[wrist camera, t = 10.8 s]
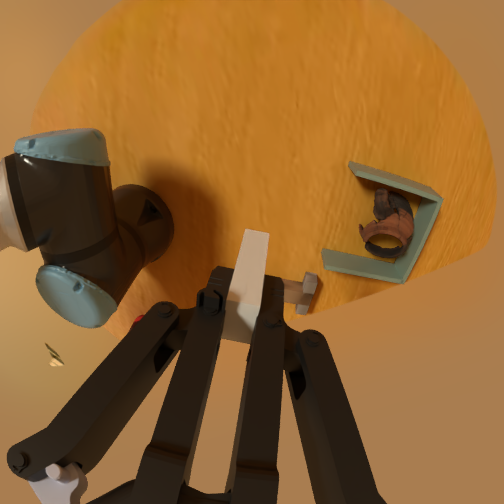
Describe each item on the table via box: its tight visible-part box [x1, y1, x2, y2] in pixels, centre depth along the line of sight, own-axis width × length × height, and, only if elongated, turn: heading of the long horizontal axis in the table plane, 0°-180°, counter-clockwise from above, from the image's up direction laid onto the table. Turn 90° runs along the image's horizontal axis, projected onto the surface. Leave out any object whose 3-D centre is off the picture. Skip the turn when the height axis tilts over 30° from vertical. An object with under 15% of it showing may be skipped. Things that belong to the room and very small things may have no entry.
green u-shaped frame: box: [321, 161, 443, 284], centre depth 42 cm, size 15×17×5 cm
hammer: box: [282, 272, 318, 315], centre depth 52 cm, size 16×8×3 cm, turn 82°
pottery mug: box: [359, 188, 414, 258], centre depth 41 cm, size 12×10×8 cm
